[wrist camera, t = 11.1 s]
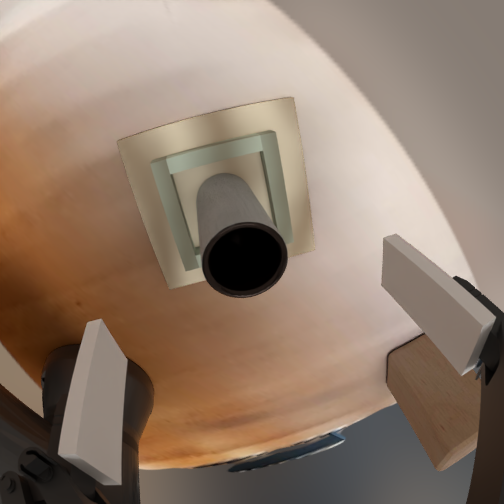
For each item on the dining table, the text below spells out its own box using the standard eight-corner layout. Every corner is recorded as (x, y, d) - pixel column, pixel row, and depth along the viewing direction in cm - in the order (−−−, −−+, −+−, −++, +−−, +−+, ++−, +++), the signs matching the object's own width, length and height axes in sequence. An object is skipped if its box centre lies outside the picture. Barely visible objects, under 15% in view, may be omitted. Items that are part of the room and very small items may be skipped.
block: (385, 352, 41) (452, 457, 24) (437, 323, 41) (509, 412, 24) (384, 384, 46) (436, 475, 29) (430, 359, 46) (487, 439, 29)
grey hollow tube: (194, 224, 25) (200, 299, 16) (197, 171, 23) (203, 220, 14) (248, 225, 26) (281, 297, 17) (254, 173, 24) (295, 223, 15)
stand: (170, 283, 29) (169, 299, 26) (119, 140, 22) (112, 144, 19) (311, 245, 30) (321, 257, 27) (289, 97, 23) (299, 97, 20)
